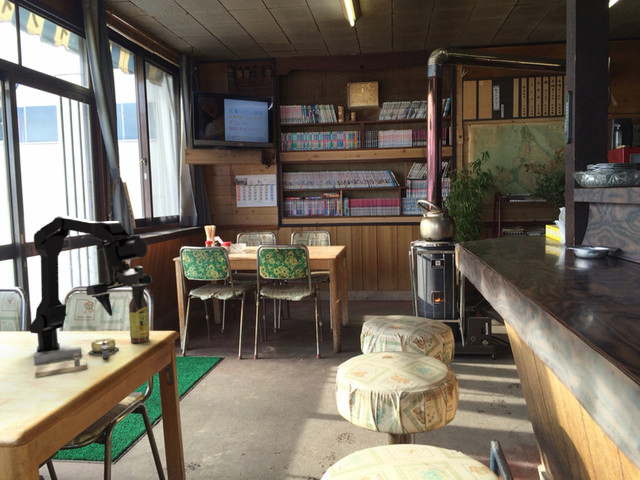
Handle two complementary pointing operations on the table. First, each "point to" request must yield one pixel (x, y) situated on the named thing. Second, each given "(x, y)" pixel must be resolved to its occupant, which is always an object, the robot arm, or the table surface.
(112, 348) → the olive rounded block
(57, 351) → the grey bar
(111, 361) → the table surface
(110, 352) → the nut base
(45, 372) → the cradle
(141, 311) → the sauce bottle
